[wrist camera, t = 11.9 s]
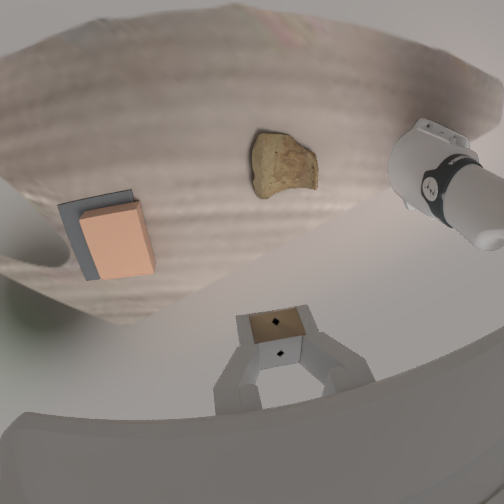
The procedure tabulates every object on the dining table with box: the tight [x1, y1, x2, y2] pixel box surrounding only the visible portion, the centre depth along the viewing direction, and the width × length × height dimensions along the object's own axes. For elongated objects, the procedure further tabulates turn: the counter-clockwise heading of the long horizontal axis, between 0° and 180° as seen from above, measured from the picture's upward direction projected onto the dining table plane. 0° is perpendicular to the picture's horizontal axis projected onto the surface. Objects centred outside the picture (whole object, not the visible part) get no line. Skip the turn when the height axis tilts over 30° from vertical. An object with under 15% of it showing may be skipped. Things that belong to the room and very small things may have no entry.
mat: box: [58, 190, 134, 281], centre depth 47 cm, size 14×16×1 cm
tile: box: [79, 201, 156, 280], centre depth 46 cm, size 3×12×10 cm
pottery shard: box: [252, 133, 318, 199], centre depth 43 cm, size 11×4×10 cm
